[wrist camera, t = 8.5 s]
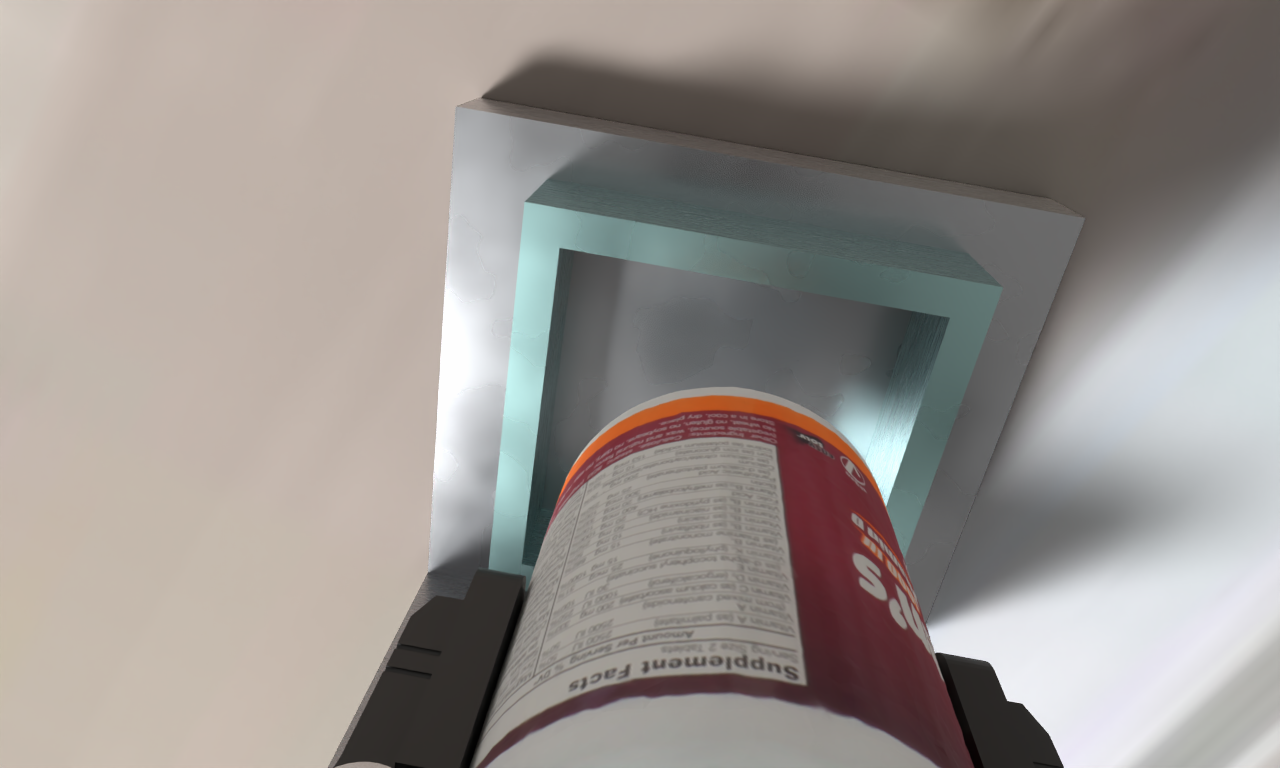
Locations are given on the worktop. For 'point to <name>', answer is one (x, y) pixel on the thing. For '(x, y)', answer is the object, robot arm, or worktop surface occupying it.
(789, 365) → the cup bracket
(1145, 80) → the worktop surface
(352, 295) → the worktop surface
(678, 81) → the worktop surface
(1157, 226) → the worktop surface
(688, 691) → the pill bottle
